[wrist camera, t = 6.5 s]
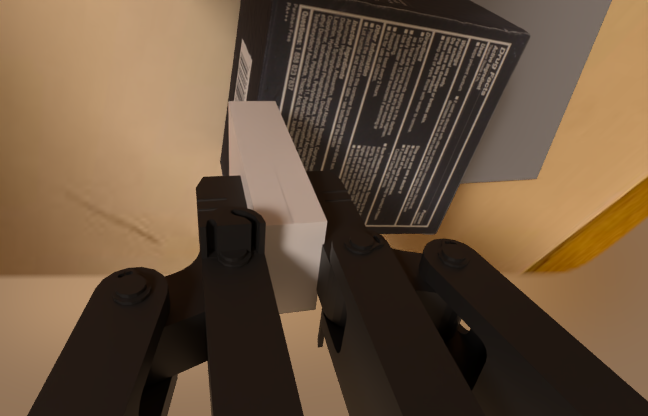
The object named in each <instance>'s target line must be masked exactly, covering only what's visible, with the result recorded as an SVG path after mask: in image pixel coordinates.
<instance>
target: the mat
mask: <svg viewBox="0 0 648 416" xmlns="http://www.w3.org/2000/svg"><path fill="white" fill-rule="evenodd" d="M470 1H472V2H474V3H476V4H478V5H480V6H482V7H484V8H485V9H487V10H489V11H491V12H493V13H494V14H496V15H498V16H500V17H502V18H504V19H505V20H507V21H509V22H511V23H513V24H515V25H516V26H518V27H520V28H522V29H524V30H525V31H527V32H528V33H529V34H530V35H531V36H530V39H529V41H528V43H527V45H526V48H525V50H524V52H523V54H522V56H521V58H520V60H519V62H518V64H517V66H516V68H515V70H514V72H513V74H512V76H511V78H510V80H509V83H508V85H507V87H506V88H505V91H504V93H503V95H502V97H501V99H500V101H499V103H498V105H497V107H496V109H495V112H494V114H493V116H492V118H491V120H490V122H489V124H488V126H487V128H486V130H485V133H484V135H483V137H482V139H481V141H480V143H479V145H478V147H477V149H476V151H475V154H474V156H473V158H472V160H471V162H470V164H469V166H468V168H467V170H466V172H465V174H464V176H463V179H462V181H461V183H477V182H493V181H509V180H525V179H537V177H538V174H539V172H540V170H541V167H542V165H543V162H544V160H545V158H546V155H547V153H548V151H549V148H550V146H551V143H552V141H553V139H554V136H555V134H556V132H557V129H558V127H559V125H560V122H561V120H562V117H563V115H564V113H565V110H566V108H567V106H568V103H569V101H570V98H571V96H572V94H573V91H574V89H575V87H576V84H577V82H578V79H579V77H580V75H581V72H582V70H583V68H584V65H585V63H586V60H587V58H588V56H589V53H590V51H591V49H592V46H593V44H594V42H595V39H596V37H597V34H598V32H599V30H600V27H601V25H602V23H603V20H604V18H605V15H606V13H607V11H608V8H609V6H610V4H611V1H612V0H470ZM461 183H460V184H461Z"/></svg>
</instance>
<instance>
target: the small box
mask: <svg viewBox="0 0 648 416" xmlns="http://www.w3.org/2000/svg"><path fill="white" fill-rule="evenodd" d="M530 36H531V35H530V34H529V33H528V32H527V31H525V30H524V29H522V28H520V27H518V26H516V25H515V24H513V23H511V22H509V21H507V20H505V19H504V18H502V17H500V16H498V15H496V14H494V13H493V12H491V11H489V10H487V9H485V8H484V7H482V6H480V5H478V4H476V3H474V2H472V1H470V0H241V4H240V13H239V20H238V28H237V37H236V44H235V51H234V60H233V68H232V75H231V82H230V91H229V98H228V101H275V102H276V104H277V106H278V109H279V111H280V113H281V116H282V118H283V120H284V122H285V125H286V127H287V129H288V132H289V134H290V136H291V139H292V141H293V143H294V146H295V148H296V150H297V153H298V155H299V157H300V159H301V162H302V164H303V166H304V169H305V171H326V170H329V171H330V172H332V173H333V174H334V175H336V176H337V177H338V178H340V179H341V181H342V183H343V184H344V186H345V188H346V190H347V192H348V194H349V196H350V198H351V201H353V203H354V205H355V207H356V209H357V211H358V213H359V214H360V216H361V218H362V220H363V222H364V224H365V226H366V228H367V229H370V230H373V231H375V232H377V233H378V234H426V235H433V234H436V233H437V231H438V229H439V227H440V225H441V223H442V220H443V219H444V216H445V214H446V212H447V210H448V208H449V206H450V204H451V202H452V200H453V197H454V195H455V193H456V191H457V189H458V187H459V185H460V183H461V181H462V179H463V176H464V174H465V172H466V170H467V168H468V166H469V164H470V162H471V160H472V158H473V156H474V154H475V151H476V149H477V147H478V145H479V143H480V141H481V139H482V137H483V135H484V133H485V130H486V128H487V126H488V124H489V122H490V120H491V118H492V116H493V114H494V112H495V109H496V107H497V105H498V103H499V101H500V99H501V97H502V95H503V93H504V91H505V88H506V87H507V85H508V83H509V80H510V78H511V76H512V74H513V72H514V70H515V68H516V66H517V64H518V62H519V60H520V58H521V56H522V54H523V52H524V50H525V48H526V45H527V43H528V41H529V39H530ZM220 163H221V169H222V175H223V176H229V112H228V106H227V115H226V121H225V129H224V137H223V145H222V153H221V160H220Z"/></svg>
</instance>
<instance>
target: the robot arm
mask: <svg viewBox="0 0 648 416" xmlns="http://www.w3.org/2000/svg"><path fill="white" fill-rule="evenodd" d="M228 112H229V176H213V177H203V178H202V179H201V181H200V182H199V184H198V185H197V187H196V196H197V213H198V230H199V244H200V252H199V255H198V257H197V259H196V260H195V261H194V262H193V263H192V264H191V265H189V266H188V267H186V268H185V269H183V270H181V271H179V272H176V273H174V274H171V275H168V276H165V277H164V276H163V275H162V274H160V273H159V272H157V271H156V270H154V269H149V268H144V267H136V268H127V269H123V270H120V271H117V272H114V273H113V274H111V275H109V276H108V277H106V278H105V279H103V280H102V281H101V283H100V284H99V285H98V286H97V287H96V289H95V291H94V292H93V294H92V296H91V298H90V300H89V302H88V304H87V305H86V307H85V309H84V311H83V313H82V315H81V317H80V318H79V320H78V322H77V324H76V326H75V328H74V329H73V331H72V333H71V335H70V337H69V339H68V341H67V343H66V344H65V347H64V348H63V350H62V352H61V354H60V356H59V357H58V359H57V361H56V363H55V365H54V367H53V369H52V371H51V372H50V374H49V376H48V378H47V380H46V382H45V384H44V386H43V387H42V390H41V391H40V393H39V395H38V397H37V399H36V400H35V402H34V404H33V406H32V408H31V410H30V412H29V414H28V415H27V416H167V414H168V410H169V407H170V403H171V399H172V396H173V392H174V389H175V385H176V381H177V375H178V374H179V373H181V372H183V371H185V370H188V369H190V368H192V367H194V366H197V365H199V364H201V363H203V362H206V361H208V372H209V373H208V374H209V387H210V401H211V414H212V416H304V415H303V411H302V407H301V402H300V399H299V394H298V390H297V386H296V382H295V377H294V373H293V369H292V365H291V361H290V357H289V353H288V349H287V344H286V340H285V336H284V332H283V328H282V323H281V319H280V315H279V314H283V313H291V312H299V311H307V310H315V309H316V301H317V294H318V296H319V300H320V302H321V305H322V313H321V320H320V327H319V334H318V347H322V346H323V340H324V337H325V340H326V343H327V347H328V350H329V353H330V356H331V359H332V362H333V366H334V368H335V372H336V375H337V378H338V381H339V384H340V388H341V391H342V394H343V397H344V400H345V403H346V406H347V410H348V413H349V416H648V401H647V400H646V399H644V398H643V397H642V396H641V395H640V394H639V393H638V392H636V391H635V390H634V389H633V388H632V387H631V386H630V385H628V384H627V383H626V382H625V381H624V380H622V379H621V378H620V377H619V376H618V375H617V374H616V373H615V372H613V371H612V370H611V369H610V368H609V367H608V366H607V365H605V364H604V363H603V362H602V361H601V360H600V359H598V358H597V357H596V356H595V355H594V354H593V353H592V352H590V351H589V350H588V349H587V348H586V347H585V346H584V345H582V344H581V343H580V342H579V341H578V340H577V339H575V338H574V337H573V336H572V335H571V334H570V333H569V332H567V331H566V330H565V329H564V328H563V327H562V326H560V325H559V324H558V323H557V322H556V321H555V320H554V319H552V318H551V317H550V316H549V315H548V314H547V313H546V312H544V311H543V310H542V309H541V308H540V307H539V306H538V305H537V304H535V303H534V302H533V301H532V300H531V299H529V297H527V296H526V295H525V294H524V293H523V292H522V291H520V290H519V289H518V288H517V287H516V286H515V285H514V284H512V283H511V282H510V281H509V280H508V279H507V278H506V277H504V276H503V275H502V274H501V273H500V272H499V271H498V270H496V269H495V268H494V267H493V266H492V265H491V264H489V263H488V262H487V261H486V260H485V259H484V258H483V257H481V256H480V255H479V254H478V253H477V252H476V251H475V250H473V249H472V248H470V247H469V246H467V245H466V244H464V243H461V242H458V241H456V240H450V239H436V240H433V241H431V242H429V243H427V245H426V246H425V248H424V250H423V254H422V253H414V252H407V251H401V250H396V249H392V248H391V247H390V245H389V244H388V242H387V241H386V240H385V239H384V237H383V236H382V235H380V234H378V233H377V232H375V231H373V230H370V229H367V228H366V226H365V224H364V222H363V220H362V218H361V216H360V214H359V213H358V211H357V209H356V207H355V205H354V203H353V201H351V198H350V196H349V194H348V192H347V190H346V188H345V186H344V184H343V183H342V181H341V179H340V178H338V177H337V176H336V175H334V174H333V173H332V172H330V171H329V170H326V171H305V169H304V166H303V164H302V162H301V159H300V157H299V155H298V153H297V150H296V148H295V146H294V143H293V141H292V139H291V136H290V134H289V132H288V129H287V127H286V125H285V122H284V120H283V118H282V116H281V113H280V111H279V109H278V106H277V104H276V102H275V101H228ZM461 319H462V320H463V321H464V322H465V323H466V324H467V325H468V326H469V327H470V328H471V329H470V331H468V330H466V329H465V328H464V327H462V326H461V324H460V321H461Z"/></svg>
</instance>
